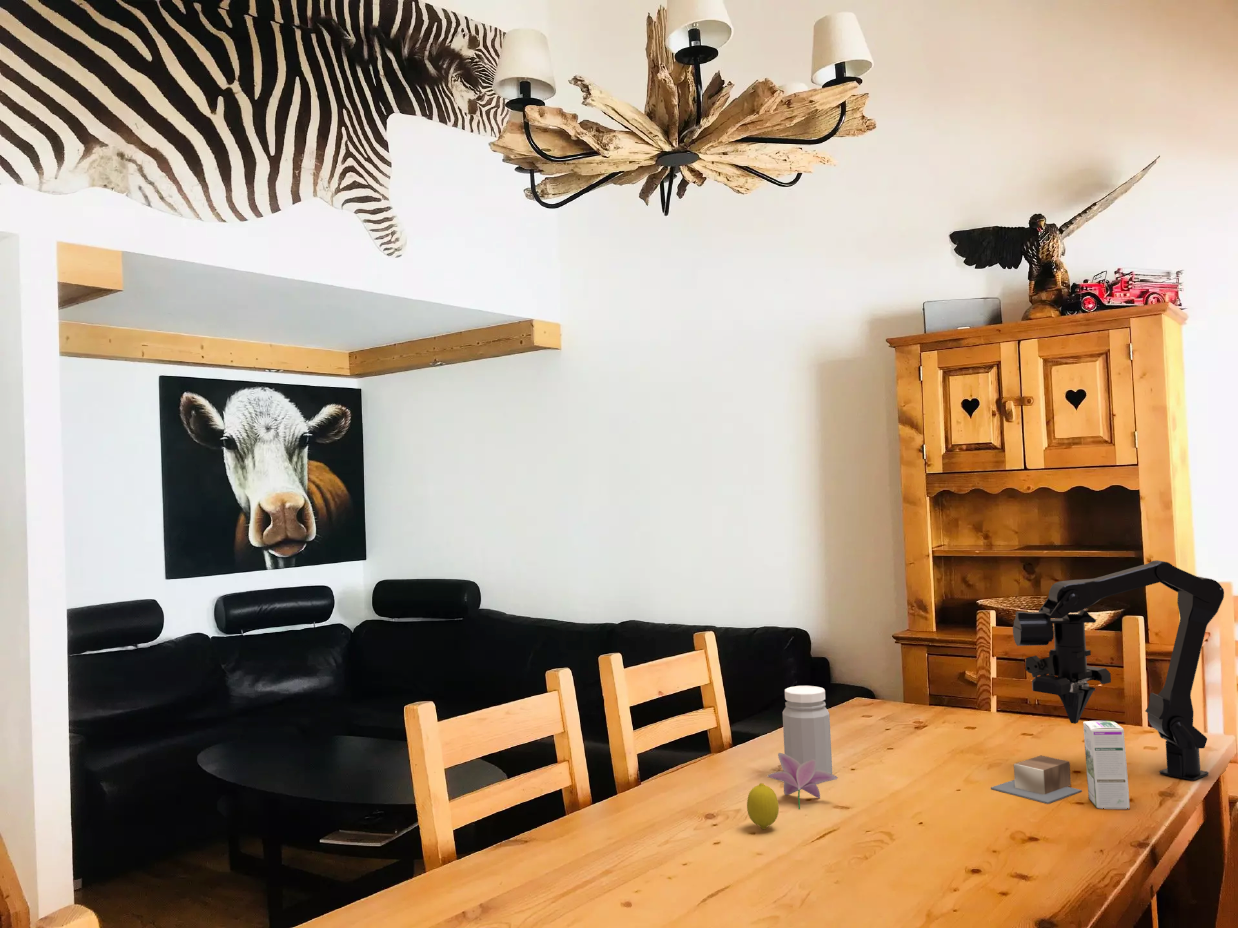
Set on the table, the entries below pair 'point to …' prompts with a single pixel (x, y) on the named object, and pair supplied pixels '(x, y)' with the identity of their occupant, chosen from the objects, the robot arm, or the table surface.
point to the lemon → (762, 805)
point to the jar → (807, 726)
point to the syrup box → (1106, 765)
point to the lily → (800, 776)
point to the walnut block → (1042, 774)
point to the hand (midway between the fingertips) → (1074, 723)
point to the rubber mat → (1046, 798)
